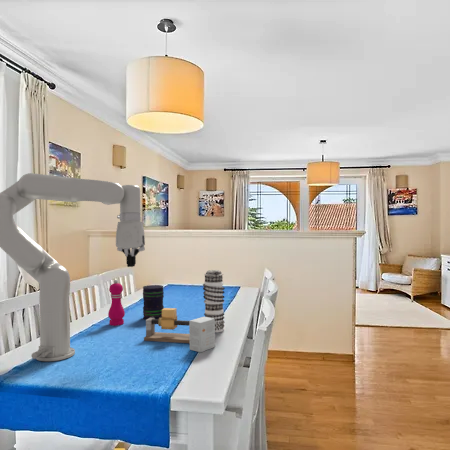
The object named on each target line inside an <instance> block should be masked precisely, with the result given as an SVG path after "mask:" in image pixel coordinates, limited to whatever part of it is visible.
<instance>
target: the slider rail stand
mask: <svg viewBox="0 0 450 450" xmlns="http://www.w3.org/2000/svg"><path fill="white" fill-rule="evenodd" d="M189 321H190V320H181V319H177V320H174V325H177V326H188V327H189ZM155 325H158V326H159V327H161V318H159V319H155V318H148V319H147V320H145V336H144V337H143V341H144V342H160V343H161V342H162V343H163V342H164V343H177V344H178V343H180V344H190V333H177V332H160V331H158V332H157V331H156V330H155V329H156V328H155Z"/></svg>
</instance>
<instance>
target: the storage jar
mask: <svg viewBox="0 0 450 450" xmlns="http://www.w3.org/2000/svg"><path fill="white" fill-rule="evenodd" d="M164 294H165V293H164V286H163V285H160V284H151V285H150V284H148V285H144V286H142V299H143V307H142V315H143V320H145V321H146V320H147V319H148V318H155V319H159V318H162V309H164V308H165V307H164Z"/></svg>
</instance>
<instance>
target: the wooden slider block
mask: <svg viewBox="0 0 450 450" xmlns="http://www.w3.org/2000/svg"><path fill="white" fill-rule="evenodd" d="M177 312H178V311H177V307H176V308H175V307H174V308H172V307H164V309H162V318H161V326H160V328H161V329H160V330H170V331H171V330H172V331H174V330H175V329H176V328H178V325H174V320H178V313H177Z"/></svg>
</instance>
